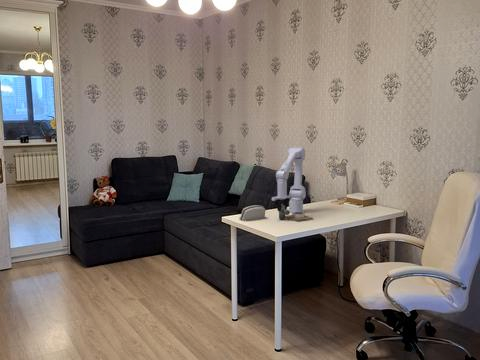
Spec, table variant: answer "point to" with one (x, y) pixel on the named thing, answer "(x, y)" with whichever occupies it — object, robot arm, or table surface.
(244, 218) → the grey napkin holder
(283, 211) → the elbow
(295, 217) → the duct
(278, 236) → the table surface
